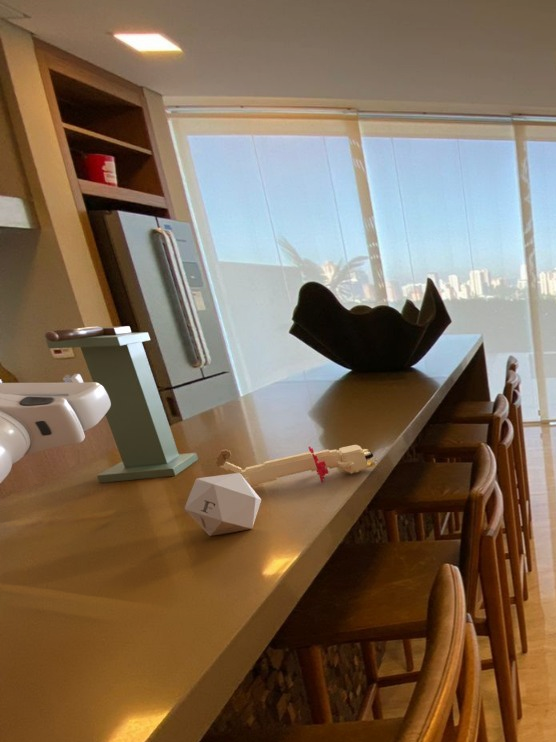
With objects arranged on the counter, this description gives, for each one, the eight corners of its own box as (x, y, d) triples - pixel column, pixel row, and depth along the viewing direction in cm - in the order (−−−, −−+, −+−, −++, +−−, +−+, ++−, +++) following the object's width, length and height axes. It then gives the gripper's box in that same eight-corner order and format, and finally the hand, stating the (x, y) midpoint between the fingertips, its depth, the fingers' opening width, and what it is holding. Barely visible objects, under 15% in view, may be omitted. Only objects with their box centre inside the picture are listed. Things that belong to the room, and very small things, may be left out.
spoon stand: (95, 485, 104) (37, 339, 95) (130, 465, 116) (81, 333, 107) (172, 478, 108) (124, 336, 98) (198, 459, 120) (157, 331, 110)
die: (186, 536, 84) (159, 498, 76) (225, 491, 89) (204, 451, 81) (244, 554, 85) (224, 519, 77) (279, 508, 90) (263, 471, 82)
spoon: (68, 341, 89) (64, 331, 89) (33, 342, 88) (28, 332, 87) (131, 332, 108) (128, 323, 108) (103, 333, 107) (100, 324, 106)
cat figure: (229, 508, 96) (383, 470, 108) (209, 459, 92) (370, 426, 104) (229, 492, 103) (372, 458, 116) (210, 446, 100) (360, 416, 112)
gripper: (-104, 449, 73) (-46, 398, 83) (96, 442, 80) (127, 396, 90) (-137, 406, 69) (-73, 358, 79) (76, 402, 76) (111, 359, 86)
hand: (35, 378), depth 85 cm, fingers open, 8 cm apart
